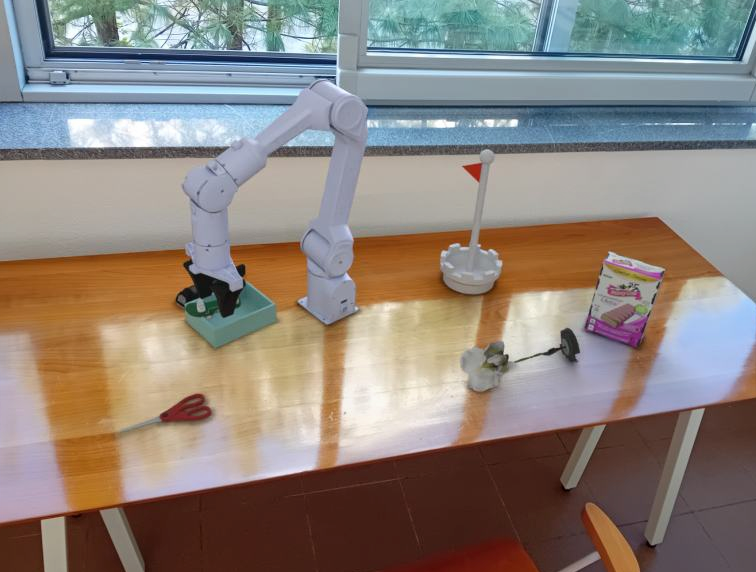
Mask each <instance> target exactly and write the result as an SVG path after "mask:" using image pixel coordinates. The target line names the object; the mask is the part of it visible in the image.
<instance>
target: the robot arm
mask: <svg viewBox="0 0 756 572" xmlns="http://www.w3.org/2000/svg"><path fill="white" fill-rule="evenodd" d="M368 113H369V108H368V107H367V106H366V104H365V103H364V101H362V99H361V98H360V97H358V95H355V94H352V93H350V92H349V91H347V90H344V89H343V88H341V87H339V86H337V85H336V84H334V83H333V82H332V81H331V80H328V79H326V78H319V79H315V80H314V81H312V82H311V83H310V84H309V85H308V87H305V88H304V89H301V90H300V92H299V93H298V96H297V98H296V100H295V101H294V102H293V104H291V105H290V106H289V107H288V108H287V109H286V110H285V111H284V112H282V113H281V114H280V115H279V116H277V118H275V119H274V120H273V121H272V122H271V123H270V124H268V126H266V127H265V128H264V129H263V130H262V131H261V132H259V133H258V134H257V135H256V136H255V137H253V138H252V137H251V138H249V137H241V138H240V139H239V140H237V139H234V140H233V141H232V142H231V143H230V147H228V148H227V149H226V150H224V151H222V153H220V154H219V155H218V156H216V157H215V158H214V159H211V160H209V161H208V162H206V165H201V166H200V165H197V166H196V167H193V168H192V169H190V170H189V171H188V172H187V174H186V175H185V178H184V180H183V182H182V183H181V184H180V185H181V186H180V187H181V189H182V191H183V193H184V195H186V196H187V197H188V198H189V207H190V223H191V232H192V233H191V234H192V241H191V242H189V243H188V242H187V243H186V244H184V248H185V255H187V256H188V257H190V258H189V260H186V261H184V262H183V263H182V266H183V268H184V269H185V270H186V272H187V274H188V275H189V276H190V278H191V281H192V283H193V285H195V288H196V290H197V293H198V295H199V297H200V298H201V299H204V298H206V297H209V296H211V295H212V293H214V294H215V296H216V299H217V302H218V306H219V311H220V314H221V316H222V317H223V318H226V317H228V316H230V315H233V314H234V311H235V307H236V303H237V300H238V297H239V295H240V293H241V291H242V290H243V288H244V287H245V285H246V281H247V280H246V281H245V279H244V278H243V277H241V276H240V275H239V274H238V272H237V270H236V265H235V263H234V261H233V259H232V257H231V246H230V244H231V243H230V242H231V241H230V228H229V212H228V211H229V210H228V207H229V206H230V205H231V203H232V202H233V199H234V196H235V195H236V193H237V192H238V190H239V188H240V187H241V186H243V185H244V184H245V183H247V182H248V181H249V180H250V179H252V178H253V177H255V176H256V175H257V174H259V172H261V171H262V170H263V169H265V168H266V167H267V163H268V162H267V161H268V157H269V156H270V155H271V154H272V153H274V152H275V151H277V150H279V149H280V148H281V147H283V146H285V145H286V144H288V143H289V142H290V141H292V140H293V139H295V138H296V137H298V136H300V135H301V134H302V133H304V132H306V131H307V130H311V131H321V132H331V134H332V135H333V136H334V143H333V147H332V152H331V156H330V161H329V165H328V170H327V175H326V179H325V183H324V188H323V194H322V197H321V203H320V207H319V212H318V216H317V217H316V218H314V219H311V220H310V221H308V222H309V223H308V226H307V229H306V231H305V232H304V234H303V235H302V237H301V240H300V243H299V246H300V247H299V248H300V250H301V252H302V253H303V254H304V255H305V256H306V262H307V264H306V265H307V266H306V267H307V268H306V271H307V273H306V280H307V282H306V296H304V297H302V298H299V299H298V300H297V304H298V305H299V306H301V307H303V308H304V309H305V310H306V311H308V312H309V313H310V314H311V315H313V316H314V317H315V318H316V319H318V320H319V321H321V322H322V323H323V324H324V325H326V326H328V325H332V324H333V323H335V322H337V321H339V320H341V319H343V318H345V317H348V316H351V315H352V314H354V313H356V312H358V311H359V307H358V306H356V300H357V299H356V298H357V285H356V283H355V281H354V280H353V278H351V276H350V275H349V274H348V271H349V270H350V268H351V267H352V265H353V264H354V263H353V262H354V258H355V255H354V250H353V248H354V247H353V246H354V242H355V240H354V238H353V234H352V232H351V230H350V228H349V225H348V223H349V219H350V215H351V210H352V206H353V203H354V202H353V201H354V198H355V193H356V190H357V185H358V181H359V176H360V173H361V168H362V164H363V159H364V155H365V151H366V147H367V143H368V138H369V129H368V122H367V118H368ZM213 277H214V278H216V279H219V280H221V282H219V283H217V284H214V285H213Z"/></svg>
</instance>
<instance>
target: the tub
mask: <svg viewBox="0 0 756 572" xmlns="http://www.w3.org/2000/svg"><path fill="white" fill-rule="evenodd" d="M244 280H245V279H244ZM245 281H246V285H245V287H244V288H243V290H242V291H241V293H240V295H239V297H240V299H241V305H240V307H239V308H236V309H235V311H234V314H233V315H230V316H228V317H226V318H223V317H222V316H221V314H220V312H219V313H214V314H213V317H212V318H211V319H206V318H205V317H204V316H203V317H201V318H200V317H198V318H197V317H193V316H191V315H189V314H188V313H187V312H186V310H185V309H184V312H185V322H186V323H187V324H188V325H189V326H190V327H191V328H193V329H194V331H196V332H197V333H198V334H199V335H200V336H201V337H203V338H204V339H205V340H206V341H207V342H208V343H209V344H210V345H211V346H212V347H214V348H215V349H217V348H220V347H221V346H223V345H225V344H228V343H231V342H233V341H234V340H235V341H236V340H237V339H240V338H242V337H244V336H246V335H249V334H250V333H253V332H256V331H257V330H259V329H263V328H264V327H267V326H269V325H271V324H274V323H277V304H276V303H275V302H274V301H273V300H272V299H270V298H269V297H268V296H267V295H265V294H264V293H263V292H261V291H260V290H259V289H257V288H256V287H255V286H254V285H252V284H251V282H249V281H248V280H245ZM199 299H201V298H198V299H196V300H193V301H191V302H188V303H186V304H185V307H186V305H187V304H189V303H197V301H198V300H199ZM201 300H203V302H211V301H215V300H217V299H216V296H215V294H214V293H213V292H212V295H211V296H209V297H206V298H204V299H201Z"/></svg>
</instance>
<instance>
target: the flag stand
mask: <svg viewBox="0 0 756 572" xmlns="http://www.w3.org/2000/svg"><path fill="white" fill-rule="evenodd" d="M495 159H496V158H495V153H494V152H493V151H492V150H491V149H487V148H486V149H484V150H482V151H481V152H480V154H479V161H480V162H478V163H477V162H476V163H472V164H466V165H461V167H462V169H464V170H465V171H466V172H467V174H469V175H470V176H471V177H472V178H473V179H475V181H476V182H478V189H477V195H476V201H475V208H474V215H473V221H472V229H471V230H472V231H471V237H470V242H468V243H469V244H468V246H461V244H460V243H459V242H457V243H453V244H450V245H448V250H444V249H443V250H442V251H441V252H440V260H439V268H440V271H441V272H442V275H443V276H442V280H443V282H444V283H445V285H446V286H447V287H448V288H450V289H452V290H453V291H456V292H458V293H461V294H466V295H480V294H484V293H487V292H489V291H490V290H492V288H493V287H494V285H495V281H497V280H498V279H499V277H500V276H501V273H502V268H503V260H499V253H498V252H497V251H496V250H494V249H492V248H490V249H488V250H487V251H486V250H484V249H482V244H480V243H479V237H480V230H481V224H482V217H483V212H484V206H485V205H484V204H485V197H486V191H487V185H488V179H489V173H490V165H491V164H492V163H493V162H494V161H495Z"/></svg>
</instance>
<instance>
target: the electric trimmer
mask: <svg viewBox="0 0 756 572" xmlns="http://www.w3.org/2000/svg"><path fill="white" fill-rule="evenodd" d="M235 267H236V270H237V272H238V274H239V275H240V276H241V277H242V278H243V277H245V275H246V274H247V273H246V272H247V271H246V269H247V267H246V265H245V264H244V263H240V264H238V265H235ZM219 282H221V280H219V279H216V278H214V277H213V285H214V284H217V283H219ZM198 298H200V297H199V295H198V293H197V290H196V288H195V285H194V284H193V285H190V286H187V287H185V288H183V289H182V290H181V291H179V292H178V293H177V295H176V297H175V303H176V305H178V306H179V307H181V308H182V309H185V304H186V303H188V302H191V301H193V300H196V299H198Z"/></svg>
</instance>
